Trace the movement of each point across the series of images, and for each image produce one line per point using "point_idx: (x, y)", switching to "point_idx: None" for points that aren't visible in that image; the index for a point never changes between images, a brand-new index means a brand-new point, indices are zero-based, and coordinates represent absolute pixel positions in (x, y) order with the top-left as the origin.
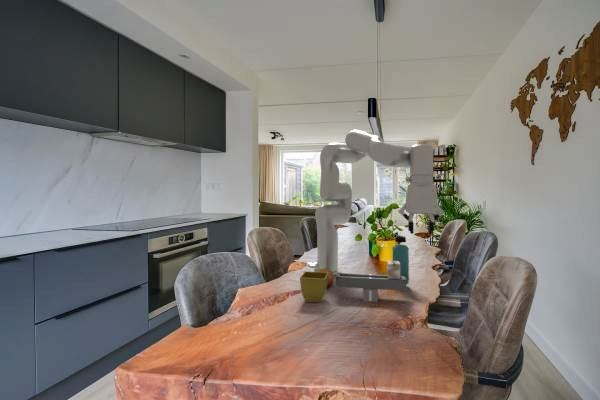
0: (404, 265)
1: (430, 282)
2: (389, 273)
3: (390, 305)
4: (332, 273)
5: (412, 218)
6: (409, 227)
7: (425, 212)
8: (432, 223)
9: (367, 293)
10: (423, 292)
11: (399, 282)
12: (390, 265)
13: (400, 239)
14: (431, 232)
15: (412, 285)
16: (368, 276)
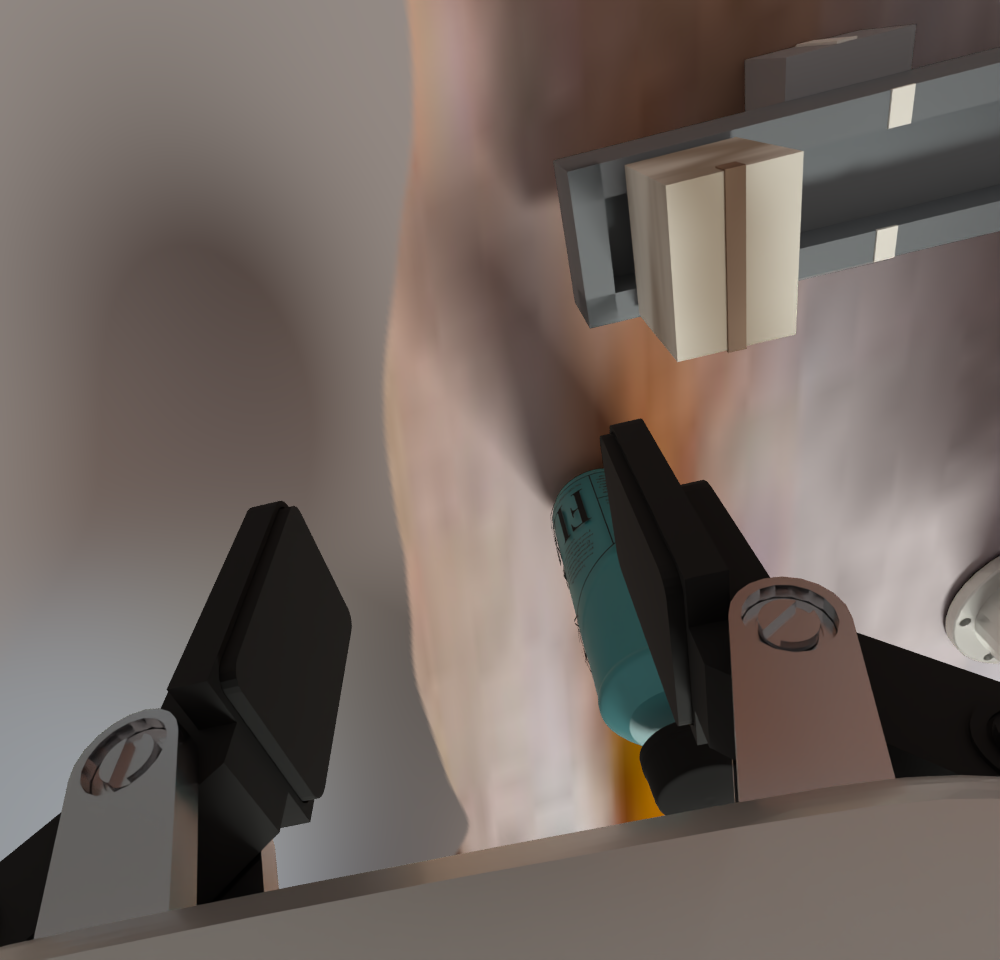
0: (602, 558)
1: (437, 632)
2: (742, 144)
3: (648, 8)
4: None
5: (740, 683)
6: (716, 512)
7: (214, 956)
8: (185, 708)
9: (857, 36)
10: (452, 434)
11: (622, 154)
12: (769, 156)
13: (703, 745)
14: (250, 518)
15: (528, 544)
16: (894, 222)
